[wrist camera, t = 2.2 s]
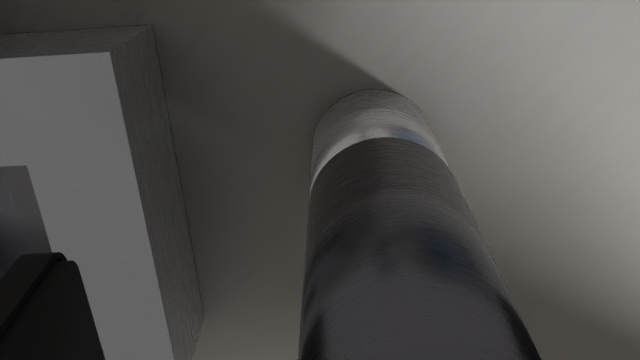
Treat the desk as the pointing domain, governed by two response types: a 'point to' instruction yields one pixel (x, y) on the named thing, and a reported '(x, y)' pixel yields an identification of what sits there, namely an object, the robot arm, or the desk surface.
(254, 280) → the desk surface
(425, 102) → the desk surface
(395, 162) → the dark gray capped cylinder
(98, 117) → the block
